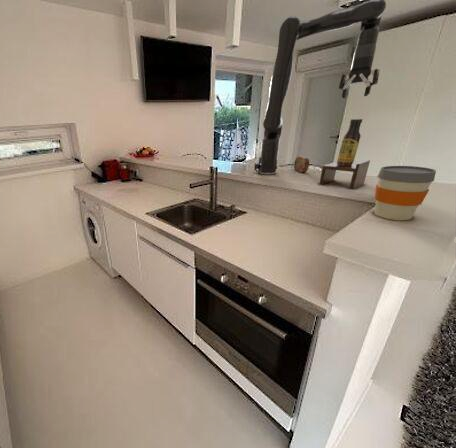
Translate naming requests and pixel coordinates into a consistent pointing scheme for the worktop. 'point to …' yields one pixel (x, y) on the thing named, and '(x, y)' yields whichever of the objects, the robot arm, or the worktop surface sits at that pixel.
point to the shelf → (357, 169)
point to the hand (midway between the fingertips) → (354, 97)
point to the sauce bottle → (350, 144)
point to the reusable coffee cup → (401, 190)
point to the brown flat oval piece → (301, 164)
